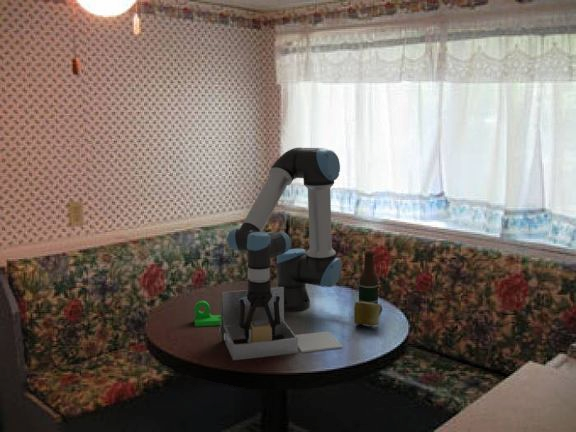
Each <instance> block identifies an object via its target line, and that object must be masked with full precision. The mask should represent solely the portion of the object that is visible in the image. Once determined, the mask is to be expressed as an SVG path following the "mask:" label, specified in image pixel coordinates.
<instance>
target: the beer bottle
mask: <svg viewBox="0 0 576 432" xmlns="http://www.w3.org/2000/svg"><path fill="white" fill-rule="evenodd" d="M374 255H375V253H374V251H372V250H366V251H364V262H363V263H364V266H363V270H362V272H361V274H360V276H359V278H358V302H367V303H373V304H375V303H376V304H379V279H378V276H377V275H376V273H375V270H374V267H375V265H374Z"/></svg>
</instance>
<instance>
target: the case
mask: <svg viewBox="0 0 576 432" xmlns="http://www.w3.org/2000/svg"><path fill="white" fill-rule="evenodd" d="M247 294H248V289H247V290H246V289H244V290H241V289H240V290H233V291H231V290H229V291H222V301H220V302H219V308H220V309H219V311H220V314H219V315H220V318H221V325H220V326H218V327H219V328H218V329H219V333H220V342H221V343H225V345H226V348H227V350H228V352H229V354H230V357H231V359H232V361H239V360H248V359H256V358H265V357H274V356H283V355H292V354H298V353H299V348H298V338H297V337H296V335H297V334H295V333H294V331H293V330H292V329H291V328H290V326H289V325H288V324H287V322H286V321H285V311H284V287H277V286H276V287H271V294H272V295H276V294H277V295H278V296H279V297H280V300H279V313H280V324H279V325H276V327H275V335H274V336H282V337H284V338H282V339H272V340H270V341H261V342H252V343H248V342H244V343H234V341H236V340H243V339H244V340H245V339H246V337H245V329H244V328H240V326H239V315H240V302H239V298H240V297H241V298H244V297H246V296H247ZM250 304H251V303H250V302H249V301H248V300H247V301H246V304H245V317H244V324H245V322H246V318H247V315H248V312H249V309H250ZM268 306H269V309H270V312H271V315H272V318H273V320H274V321H275V314H274V303H273V300H272V298H271V299H270V301H269V302H268ZM262 319H265V320H267V322H268V323H269V324H270V322H269V319H268V317H267V314H266V311H265V308H264V307H258V308H256V310H255V311H254V315H253V318H252V320H262Z"/></svg>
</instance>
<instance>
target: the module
mask: <svg viewBox="0 0 576 432" xmlns="http://www.w3.org/2000/svg"><path fill="white" fill-rule="evenodd" d="M250 328H251V333H252V342H261V341H270V340H271V326H270V324H269V323H268V322H267V320H265V319H262V320H252V321H251V324H250Z"/></svg>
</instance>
